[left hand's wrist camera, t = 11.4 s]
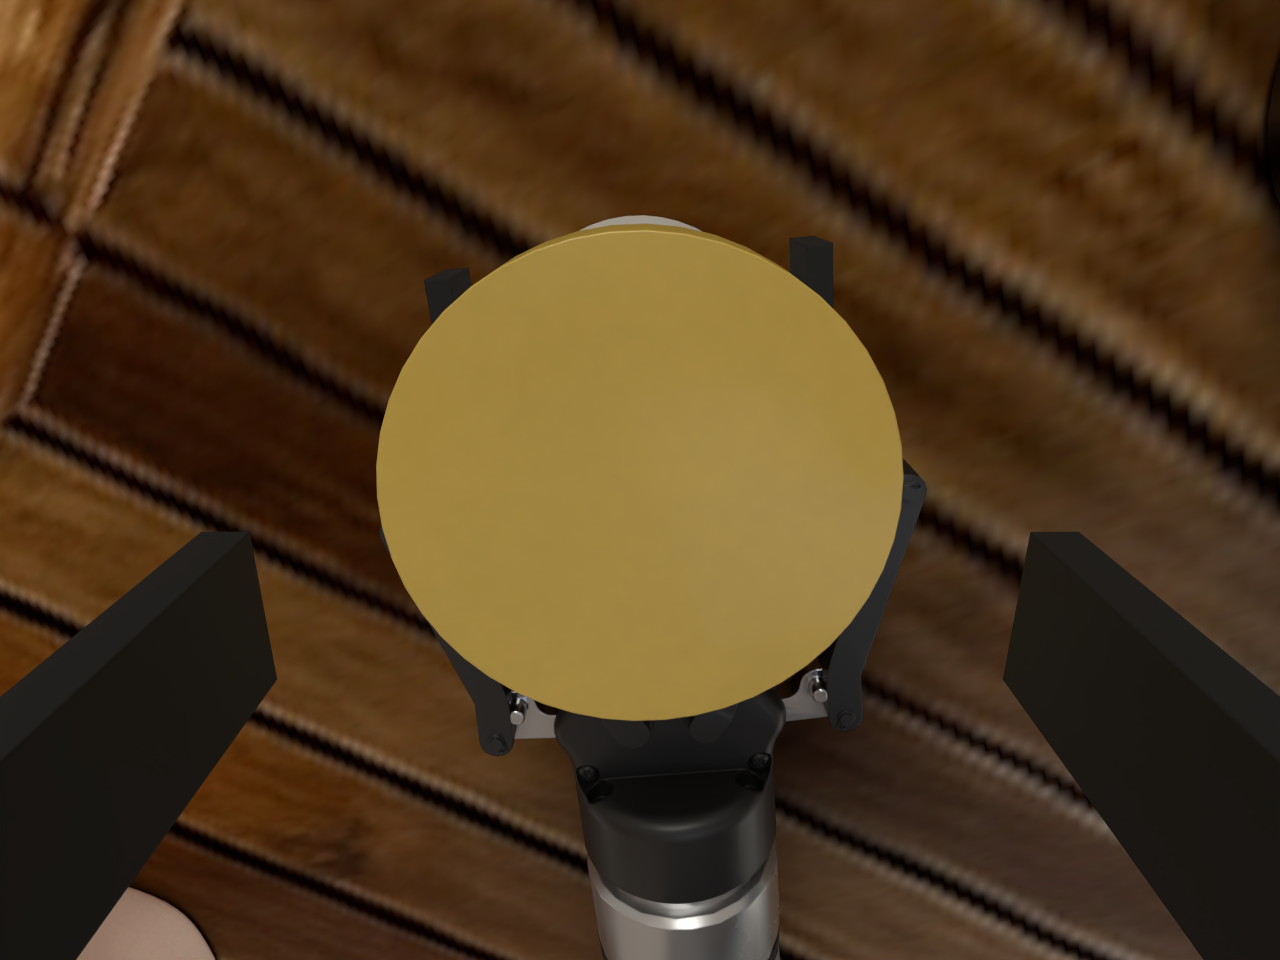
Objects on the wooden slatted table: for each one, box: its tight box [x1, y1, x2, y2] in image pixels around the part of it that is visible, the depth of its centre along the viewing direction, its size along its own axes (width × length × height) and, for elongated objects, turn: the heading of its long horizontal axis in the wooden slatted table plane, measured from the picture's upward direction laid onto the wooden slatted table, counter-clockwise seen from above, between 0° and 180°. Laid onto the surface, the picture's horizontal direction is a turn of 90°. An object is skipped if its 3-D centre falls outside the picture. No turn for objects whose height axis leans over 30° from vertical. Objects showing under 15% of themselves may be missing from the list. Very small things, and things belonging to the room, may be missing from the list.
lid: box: [376, 224, 904, 721], centre depth 18 cm, size 11×11×2 cm
